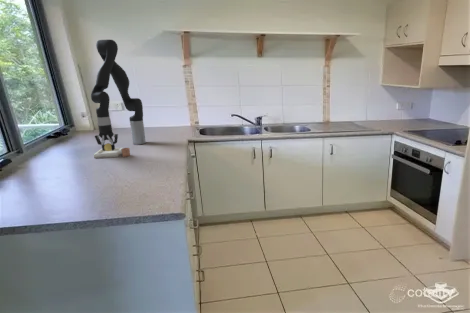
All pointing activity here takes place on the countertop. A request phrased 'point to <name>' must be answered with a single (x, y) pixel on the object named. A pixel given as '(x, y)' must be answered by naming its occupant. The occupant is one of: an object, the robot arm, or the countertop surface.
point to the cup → (125, 152)
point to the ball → (108, 147)
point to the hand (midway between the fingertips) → (108, 150)
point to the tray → (108, 153)
